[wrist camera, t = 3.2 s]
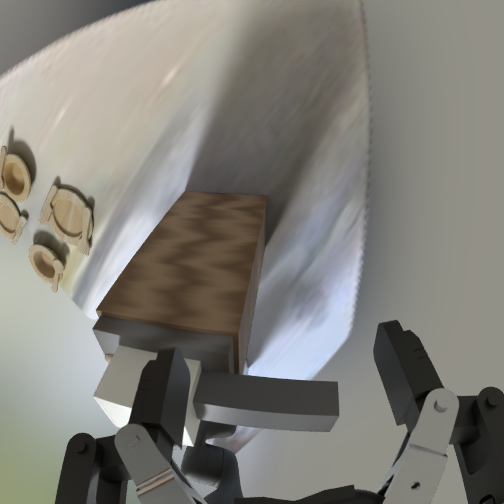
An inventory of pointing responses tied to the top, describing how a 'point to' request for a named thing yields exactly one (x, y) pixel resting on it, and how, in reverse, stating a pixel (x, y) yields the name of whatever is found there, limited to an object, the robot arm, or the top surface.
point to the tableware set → (43, 217)
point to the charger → (224, 397)
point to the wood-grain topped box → (191, 283)
